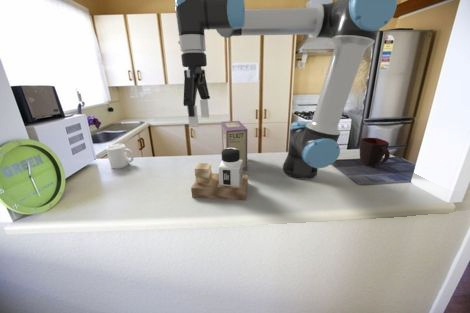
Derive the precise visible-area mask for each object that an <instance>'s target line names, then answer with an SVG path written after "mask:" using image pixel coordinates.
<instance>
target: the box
mask: <svg viewBox="0 0 470 313" xmlns="http://www.w3.org/2000/svg"><path fill="white" fill-rule="evenodd" d="M220 125H221V141H222V142H221V143H222V150H224V149H226V148H236V149H238V150H239V151H240V160H243V172H248V128H247V127H246V126H245V125H244V124H243V123H242V122H241V121H240V120H231V121H221V124H220Z"/></svg>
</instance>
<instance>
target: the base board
mask: <svg viewBox="0 0 470 313" xmlns="http://www.w3.org/2000/svg"><path fill="white" fill-rule="evenodd" d="M248 181H249V175H248V174H243V177H242V181H241V184H240V187H234V186H222V185H219V173H212V178H211V180H210V182H209V184H208V183H196V180H195V181H194V182H193V184H192V186H191V187H190V190H191V197H192V198H201V199H218V200H233V201H234V200H235V201H246V199H247V192H248V185H249V183H248Z"/></svg>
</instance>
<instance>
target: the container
mask: <svg viewBox="0 0 470 313" xmlns="http://www.w3.org/2000/svg"><path fill="white" fill-rule="evenodd" d="M217 168H218V174H219V185H222V186H234V187H240V184H241V181H242V177H243V175H244V174H243V172H244V171H243V160H240V151H239V150H238V149H236V148H226V149H224V150H223V149H222V150H221V162H220V164H219V165H218V167H217Z"/></svg>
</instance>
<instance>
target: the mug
mask: <svg viewBox="0 0 470 313" xmlns="http://www.w3.org/2000/svg"><path fill="white" fill-rule="evenodd" d="M389 145H390V143H389V142H388V141H387V140H384V139H381V138H378V137H362V138H360V141H359V160H360V164H362V165H363V166H365V167H371V168H372V167H373V168H374V167H377V166H378V165H381V164H384V163H386V162H387V161H388V160H389V159H390V158H391V157H390V156H391V153H390V150H389V149H388V148H389Z"/></svg>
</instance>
